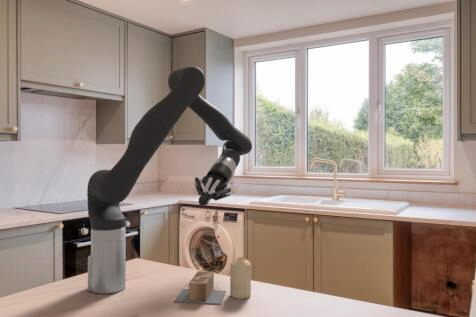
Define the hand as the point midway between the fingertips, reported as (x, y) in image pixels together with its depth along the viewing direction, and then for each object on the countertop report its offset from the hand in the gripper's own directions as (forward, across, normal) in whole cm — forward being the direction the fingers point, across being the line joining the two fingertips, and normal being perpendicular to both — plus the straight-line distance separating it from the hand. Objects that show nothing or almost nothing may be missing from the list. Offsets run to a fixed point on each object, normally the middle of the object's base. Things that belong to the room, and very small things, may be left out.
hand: (201, 203), depth 116 cm
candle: (+18, +20, +10) cm, 29 cm away
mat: (+23, +10, +10) cm, 27 cm away
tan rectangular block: (+16, +9, +12) cm, 22 cm away
